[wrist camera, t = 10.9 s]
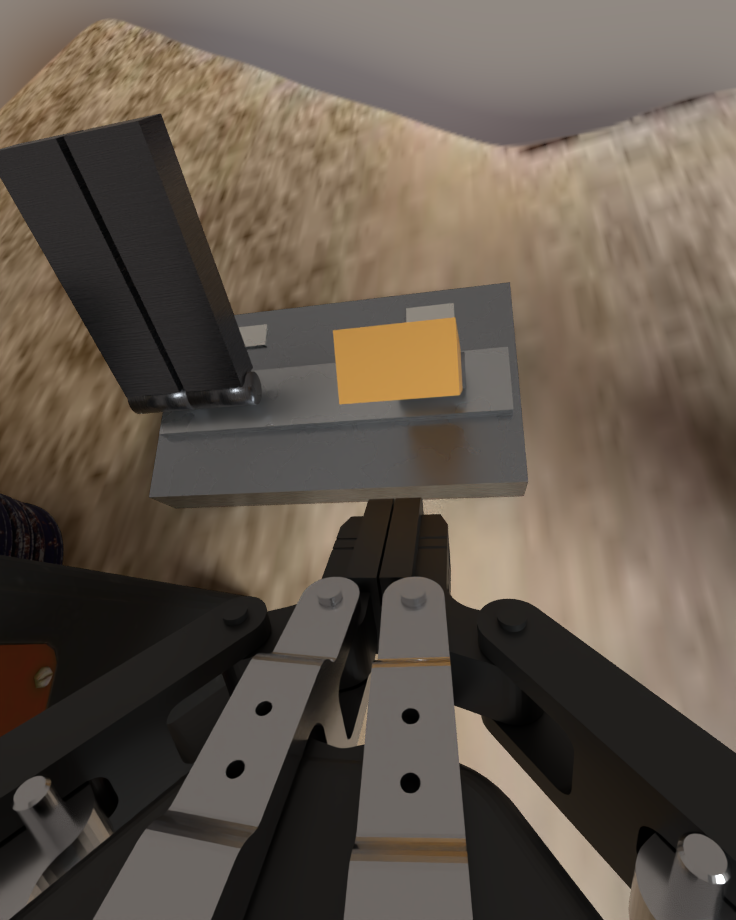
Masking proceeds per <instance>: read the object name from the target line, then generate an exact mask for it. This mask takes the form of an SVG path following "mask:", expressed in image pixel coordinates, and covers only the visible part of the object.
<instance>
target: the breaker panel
mask: <svg viewBox="0 0 736 920" xmlns="http://www.w3.org/2000/svg"><path fill="white" fill-rule="evenodd" d="M0 178H1V179H2V181H3V183H4V185H5V186H6V188H7V190H8V192H9V193H10V195H11V197H12V199H13V200H14V202H15V204H16V206H17V207H18V209H19V211H20V213H21V214H22V216H23V218H24V220H25V221H26V223H27V225H28V227H29V228H30V230H31V232H32V233H33V235H34V237H35V239H36V240H37V242H38V244H39V246H40V247H41V249H42V251H43V253H44V254H45V256H46V258H47V260H48V261H49V263H50V265H51V267H52V268H53V270H54V272H55V274H56V275H57V277H58V279H59V281H60V282H61V284H62V286H63V287H64V289H65V291H66V293H67V294H68V296H69V298H70V300H71V301H72V303H73V305H74V307H75V308H76V310H77V312H78V314H79V315H80V317H81V319H82V321H83V322H84V324H85V326H86V328H87V329H88V331H89V333H90V335H91V336H92V338H93V340H94V342H95V343H96V345H97V347H98V348H99V350H100V352H101V354H102V355H103V357H104V359H105V361H106V362H107V364H108V366H109V368H110V369H111V371H112V373H113V375H114V376H115V378H116V380H117V382H118V383H119V385H120V387H121V389H122V390H123V392H124V394H125V396H126V397H127V398H128V402H129V405H130V407H131V409H132V410H133V411H134V412H135V413H137V414H145V413H158V412H163V415H162V420H161V426H160V432H159V440H158V446H157V452H156V458H155V464H154V470H153V476H152V482H151V488H150V494H149V497H150V498H152V499H154V500H157V501H159V502H162V503H164V504H166V505H169V506H171V507H174V508H199V507H227V506H255V505H283V504H311V503H339V502H367V501H368V500H369V499H389V498H394V499H396V498H417V497H421V498H422V500H423V499H451V498H479V497H507V496H524V493H525V490H526V487H527V483H528V475H527V464H526V453H525V442H524V431H523V421H522V410H521V399H520V388H519V377H518V366H517V355H516V344H515V334H514V323H513V312H512V301H511V290H510V282H508V283H500V284H492V285H483V286H475V287H466V288H458V289H450V290H441V291H433V292H425V293H416V294H408V295H399V296H391V297H383V298H374V299H366V300H357V301H349V302H341V303H332V304H324V305H315V306H307V307H299V308H290V309H282V310H273V311H265V312H257V313H248V314H240V315H234V313H233V311H232V308H231V305H230V302H229V300H228V297H227V294H226V291H225V289H224V286H223V283H222V280H221V278H220V275H219V272H218V269H217V267H216V264H215V261H214V258H213V256H212V253H211V250H210V247H209V245H208V242H207V239H206V236H205V234H204V231H203V228H202V225H201V223H200V220H199V217H198V214H197V212H196V209H195V206H194V203H193V201H192V198H191V195H190V192H189V190H188V187H187V184H186V181H185V179H184V176H183V173H182V170H181V168H180V165H179V162H178V159H177V157H176V154H175V151H174V148H173V146H172V143H171V140H170V137H169V135H168V132H167V129H166V126H165V124H164V121H163V118H162V115H161V114H156V115H152V116H147V117H142V118H138V119H133V120H128V121H124V122H119V123H114V124H110V125H105V126H100V127H95V128H91V129H87V130H81V131H77V132H72V133H67V134H63V135H58V136H53V137H49V138H44V139H39V140H35V141H30V142H25V143H21V144H17V145H13V146H10V147H6V148H2V149H0ZM452 317H455V318H456V324H457V330H458V337H459V343H460V349H461V352H464V353H465V372H466V388H463V391H462V392H461V394H460V395H456V396H443V397H430V398H417V399H404V400H391V401H378V402H365V403H352V404H339V395H338V384H337V372H336V361H335V349H334V338H333V330H341V329H350V328H360V327H369V326H378V325H388V324H397V323H406V322H415V321H425V320H434V319H443V318H452Z"/></svg>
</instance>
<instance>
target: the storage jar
mask: <svg viewBox="0 0 736 920" xmlns="http://www.w3.org/2000/svg"><path fill="white" fill-rule="evenodd" d="M0 555H4V556H10V557H16V558H22V559H28V560H34V561H40V562H46V563H52V564H58V565H62V562H63V541H62V536H61V532H60V530H59V527H58V525H57V523H56V522H55V520H54V518H53V517H52V516H51V515H50V514H49V513H48V512H46V511H45V510H44V509H42V508H40V507H38V506H35V505H32V504H29V503H24V502H20V501H17V500H15V499H12V498H11V497H8V496H6V495H4V494H0Z"/></svg>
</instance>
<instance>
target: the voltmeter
mask: <svg viewBox="0 0 736 920" xmlns="http://www.w3.org/2000/svg"><path fill="white" fill-rule="evenodd" d="M237 597H244V596H242V595H236V594H230V593H224V592H218V591H212V590H206V589H200V588H194V587H188V586H182V585H176V584H170V583H164V582H158V581H153V580H147V579H141V578H135V577H129V576H123V575H117V574H111V573H105V572H99V571H93V570H87V569H81V568H75V567H69V566H64V565H58V564H52V563H46V562H40V561H34V560H28V559H22V558H16V557H10V556H4V555H0V737H1V736H3V735H5V734H6V733H8V732H10V731H11V730H13V729H15V728H16V727H18V726H20V725H21V724H23V723H25V722H26V721H28V720H30V719H31V718H33V717H35V716H36V715H38V714H39V713H41V712H43V711H44V710H46V709H48V708H49V707H51V706H53V705H54V704H56V703H58V702H59V701H61V700H63V699H64V698H66V697H68V696H69V695H71V694H73V693H74V692H76V691H78V690H79V689H81V688H83V687H84V686H86V685H88V684H89V683H91V682H93V681H94V680H96V679H98V678H99V677H101V676H103V675H104V674H106V673H108V672H109V671H111V670H113V669H114V668H116V667H118V666H119V665H121V664H123V663H124V662H126V661H128V660H129V659H131V658H133V657H134V656H136V655H138V654H139V653H141V652H143V651H144V650H146V649H148V648H149V647H151V646H152V645H154V644H156V643H157V642H159V641H161V640H162V639H164V638H166V637H167V636H169V635H171V634H172V633H174V632H176V631H177V630H179V629H181V628H182V627H184V626H186V625H187V624H189V623H191V622H192V621H194V620H196V619H197V618H199V617H201V616H202V615H204V614H206V613H207V612H209V611H211V610H212V609H214V608H216V607H217V606H219V605H221V604H222V603H224V602H226V601H228V600H231V599H234V598H237ZM225 685H226V684H225V682H224V679H223V676H222V674H220V675H219V676H217V677H216V678H214V679H213V680H211V681H210V682H209V683H207V684H206V685H204V686H203V687H201V688H200V689H198V690H197V691H196V692H194V693H193V694H191V695H190V696H188V697H187V698H185V699H184V700H183V701H181V702H180V703H178V704H177V705H176V706H175V707H174V708H173V709H172V710H171V712H170V714H169V716H168V718H167V724H170V723H172V722H174V721H176V720H177V719H178V718H180V717H181V716H183V715H184V714H185V713H187V712H188V711H190V710H191V709H193V708H194V707H195V706H197V705H198V704H200V703H201V702H202V701H204V700H205V699H207V698H208V697H209V696H211V695H212V694H214V693H215V692H216V691H218V690H219V689H221V688H222V687H223V686H225Z"/></svg>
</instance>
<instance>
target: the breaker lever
mask: <svg viewBox="0 0 736 920" xmlns="http://www.w3.org/2000/svg"><path fill="white" fill-rule="evenodd" d="M333 338H334V349H335V361H336V372H337V384H338V395H339V404H352V403H365V402H378V401H391V400H404V399H417V398H430V397H443V396H456V395H460V394H461V392H462V391H463V388H466V372H465V353H464V352H461V349H460V343H459V337H458V330H457V324H456V318H455V317H452V318H443V319H434V320H425V321H415V322H406V323H397V324H388V325H378V326H369V327H360V328H350V329H341V330H333Z"/></svg>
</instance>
